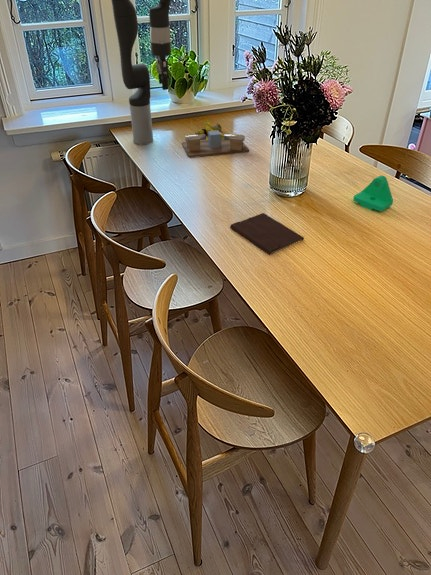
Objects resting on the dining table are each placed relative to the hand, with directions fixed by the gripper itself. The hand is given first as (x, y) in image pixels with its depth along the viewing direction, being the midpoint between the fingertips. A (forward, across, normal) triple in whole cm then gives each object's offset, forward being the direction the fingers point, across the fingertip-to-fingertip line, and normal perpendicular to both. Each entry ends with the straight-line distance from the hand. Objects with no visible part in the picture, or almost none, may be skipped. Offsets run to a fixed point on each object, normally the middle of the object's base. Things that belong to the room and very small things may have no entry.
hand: (163, 86), depth 176 cm
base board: (+30, -8, +23) cm, 39 cm away
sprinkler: (+31, -26, +25) cm, 47 cm away
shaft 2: (+26, -4, +31) cm, 41 cm away
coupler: (+29, -8, +23) cm, 38 cm away
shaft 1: (+26, -8, +14) cm, 30 cm away
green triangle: (+30, +58, +66) cm, 93 cm away
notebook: (+31, +68, +22) cm, 78 cm away
